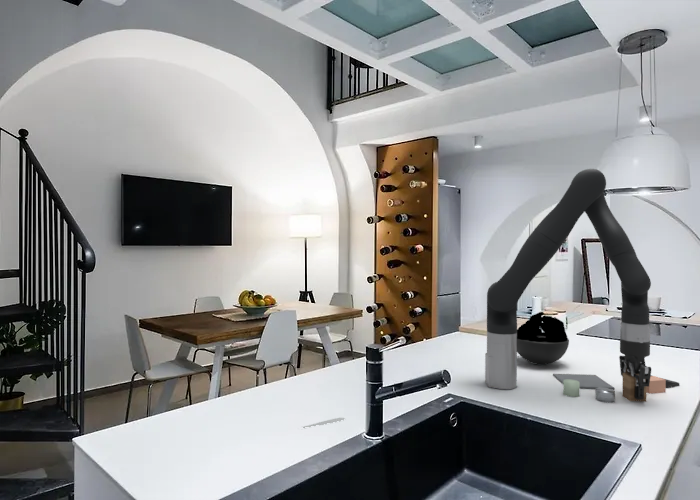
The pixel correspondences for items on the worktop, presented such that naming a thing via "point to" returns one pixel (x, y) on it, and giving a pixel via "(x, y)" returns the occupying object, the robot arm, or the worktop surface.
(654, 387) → the terracotta brick
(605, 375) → the worktop surface
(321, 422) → the butter knife
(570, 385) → the sage cylinder
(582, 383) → the charcoal mat
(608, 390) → the grey metal puck
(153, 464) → the worktop surface
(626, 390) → the walnut block
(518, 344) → the coal bowl
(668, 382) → the phone
